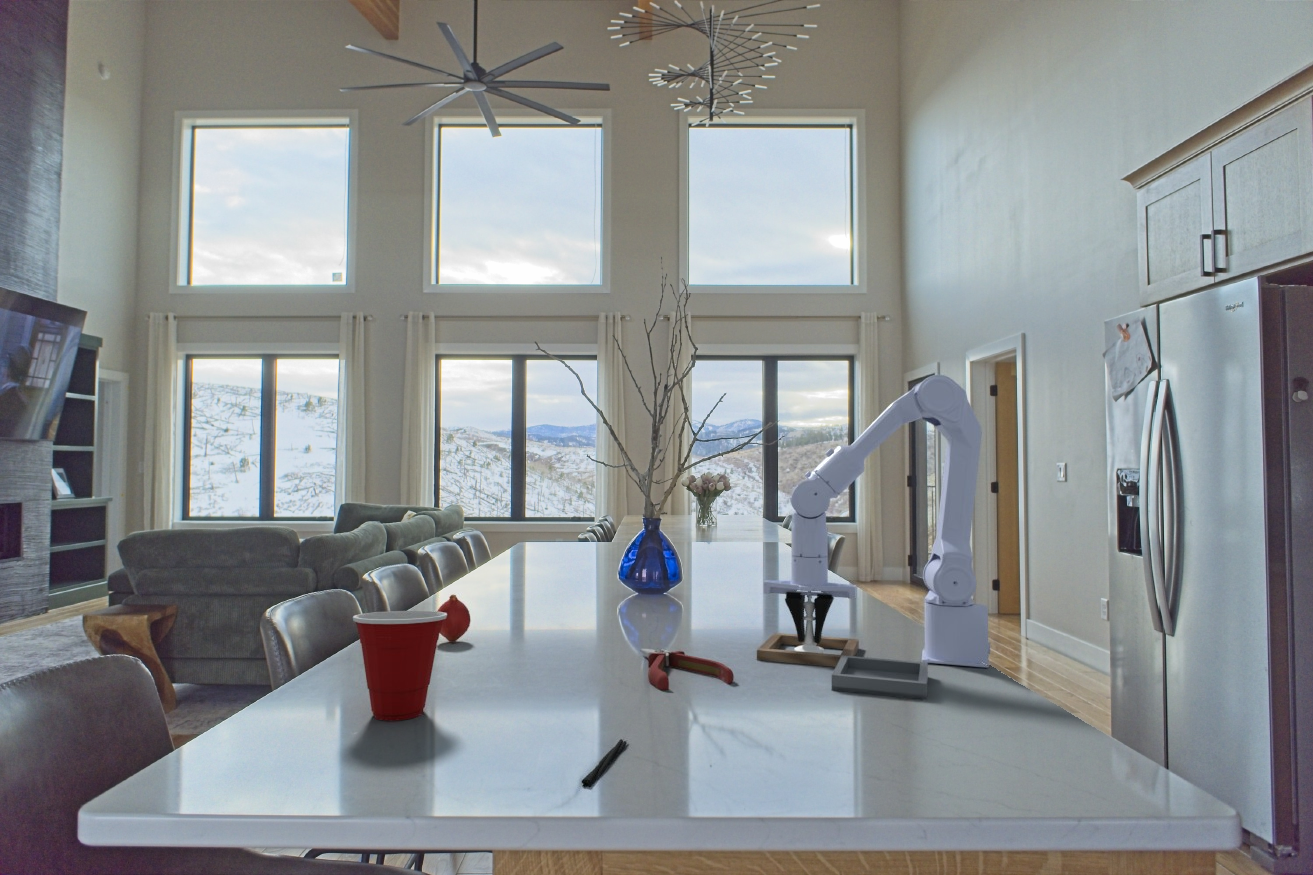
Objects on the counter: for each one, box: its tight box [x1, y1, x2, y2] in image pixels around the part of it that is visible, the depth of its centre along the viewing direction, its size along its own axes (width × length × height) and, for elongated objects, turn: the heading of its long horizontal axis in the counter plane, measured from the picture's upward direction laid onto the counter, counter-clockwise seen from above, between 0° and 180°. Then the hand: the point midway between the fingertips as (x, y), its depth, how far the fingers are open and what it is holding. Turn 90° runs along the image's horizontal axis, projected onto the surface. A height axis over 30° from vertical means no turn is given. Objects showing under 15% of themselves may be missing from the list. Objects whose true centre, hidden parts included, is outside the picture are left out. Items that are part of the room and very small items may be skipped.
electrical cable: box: [581, 737, 629, 788], centre depth 79 cm, size 12×1×1 cm, turn 165°
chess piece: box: [793, 591, 826, 654], centre depth 127 cm, size 5×5×10 cm
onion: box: [436, 594, 472, 643], centre depth 134 cm, size 6×6×8 cm
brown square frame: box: [756, 632, 860, 668], centre depth 127 cm, size 14×14×2 cm
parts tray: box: [831, 655, 929, 700], centre depth 110 cm, size 12×12×2 cm
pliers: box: [639, 648, 734, 691], centre depth 116 cm, size 12×20×3 cm, turn 20°
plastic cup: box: [352, 610, 447, 722], centre depth 95 cm, size 11×11×12 cm
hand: (809, 641), depth 127 cm, fingers closed on chess piece
